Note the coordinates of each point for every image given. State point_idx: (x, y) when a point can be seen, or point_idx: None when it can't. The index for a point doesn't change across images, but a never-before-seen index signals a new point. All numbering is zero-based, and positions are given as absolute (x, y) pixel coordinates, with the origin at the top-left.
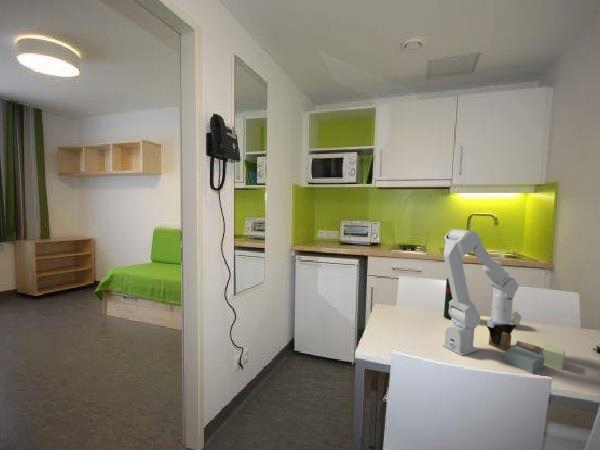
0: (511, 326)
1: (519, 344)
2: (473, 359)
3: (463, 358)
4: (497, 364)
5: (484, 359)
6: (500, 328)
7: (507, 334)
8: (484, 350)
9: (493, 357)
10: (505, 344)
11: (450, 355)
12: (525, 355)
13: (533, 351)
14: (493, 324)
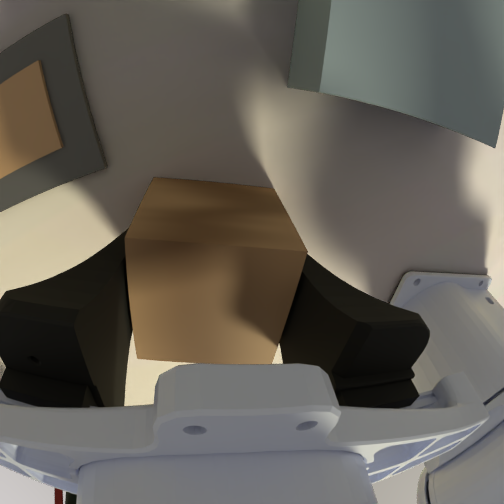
0: (84, 331)
1: (31, 171)
2: (495, 236)
3: (501, 261)
4: (488, 147)
5: (476, 208)
6: (383, 355)
7: (157, 267)
8: (376, 255)
9: (433, 186)
10: (241, 203)
11: (496, 293)
12: (464, 12)
13: (60, 48)
14: (474, 403)
